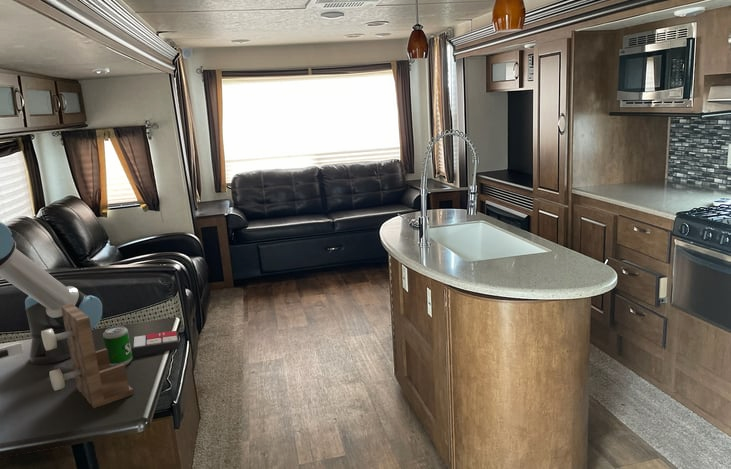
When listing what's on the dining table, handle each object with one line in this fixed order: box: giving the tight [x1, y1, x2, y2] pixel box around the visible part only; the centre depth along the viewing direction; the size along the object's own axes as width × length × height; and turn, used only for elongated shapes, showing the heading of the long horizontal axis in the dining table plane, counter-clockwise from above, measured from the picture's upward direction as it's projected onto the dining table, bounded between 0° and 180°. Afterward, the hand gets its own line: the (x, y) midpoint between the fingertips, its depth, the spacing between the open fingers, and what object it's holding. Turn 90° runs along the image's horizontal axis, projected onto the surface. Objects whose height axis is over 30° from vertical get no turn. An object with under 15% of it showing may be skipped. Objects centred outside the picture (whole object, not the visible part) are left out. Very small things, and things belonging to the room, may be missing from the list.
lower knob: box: [49, 368, 82, 392], centre depth 162 cm, size 6×8×6 cm
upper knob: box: [41, 329, 74, 351], centre depth 159 cm, size 6×8×6 cm
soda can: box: [102, 325, 133, 367], centre depth 187 cm, size 8×8×12 cm
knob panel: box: [61, 304, 134, 409], centre depth 166 cm, size 18×11×26 cm, turn 40°
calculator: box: [131, 330, 180, 359], centre depth 199 cm, size 11×4×15 cm
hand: (21, 347), depth 153 cm, fingers closed
